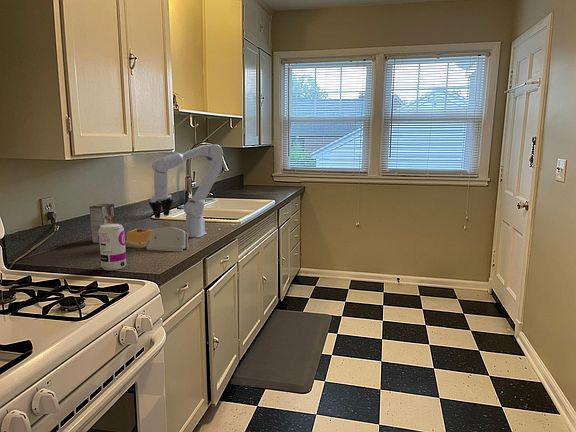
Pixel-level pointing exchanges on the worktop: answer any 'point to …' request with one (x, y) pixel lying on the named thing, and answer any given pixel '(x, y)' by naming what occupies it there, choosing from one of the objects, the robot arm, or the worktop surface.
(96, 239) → the coffee box
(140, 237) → the orange square frame
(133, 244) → the keeper board
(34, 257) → the worktop surface
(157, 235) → the grey napkin holder
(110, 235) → the supplement can
